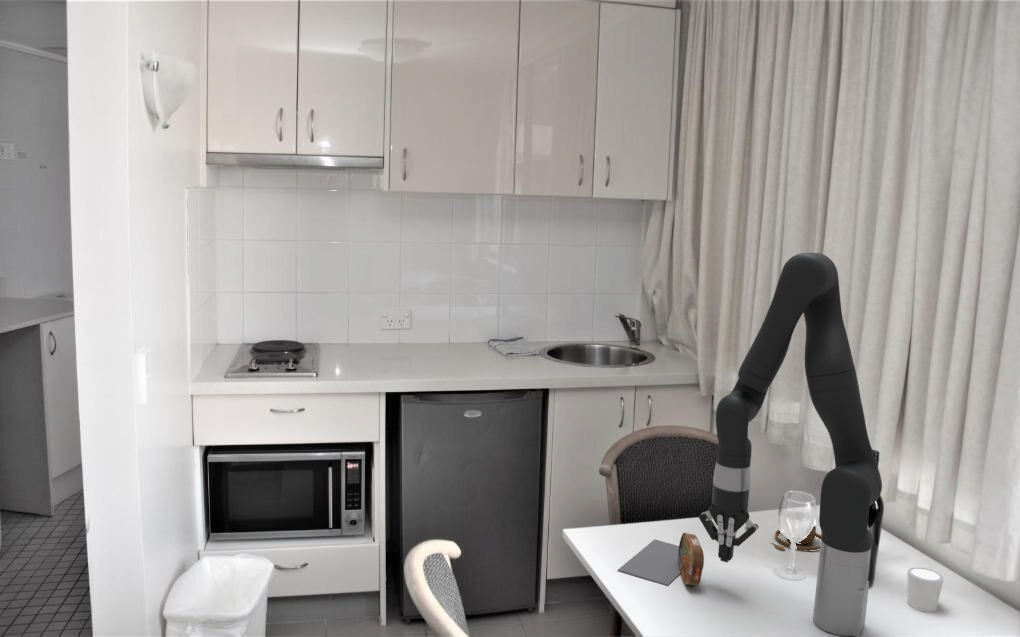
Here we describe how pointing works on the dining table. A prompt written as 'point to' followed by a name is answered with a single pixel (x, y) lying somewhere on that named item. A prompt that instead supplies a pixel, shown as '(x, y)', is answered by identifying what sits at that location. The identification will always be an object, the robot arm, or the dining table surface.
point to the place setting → (806, 540)
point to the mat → (655, 563)
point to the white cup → (923, 588)
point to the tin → (690, 559)
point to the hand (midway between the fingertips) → (725, 560)
